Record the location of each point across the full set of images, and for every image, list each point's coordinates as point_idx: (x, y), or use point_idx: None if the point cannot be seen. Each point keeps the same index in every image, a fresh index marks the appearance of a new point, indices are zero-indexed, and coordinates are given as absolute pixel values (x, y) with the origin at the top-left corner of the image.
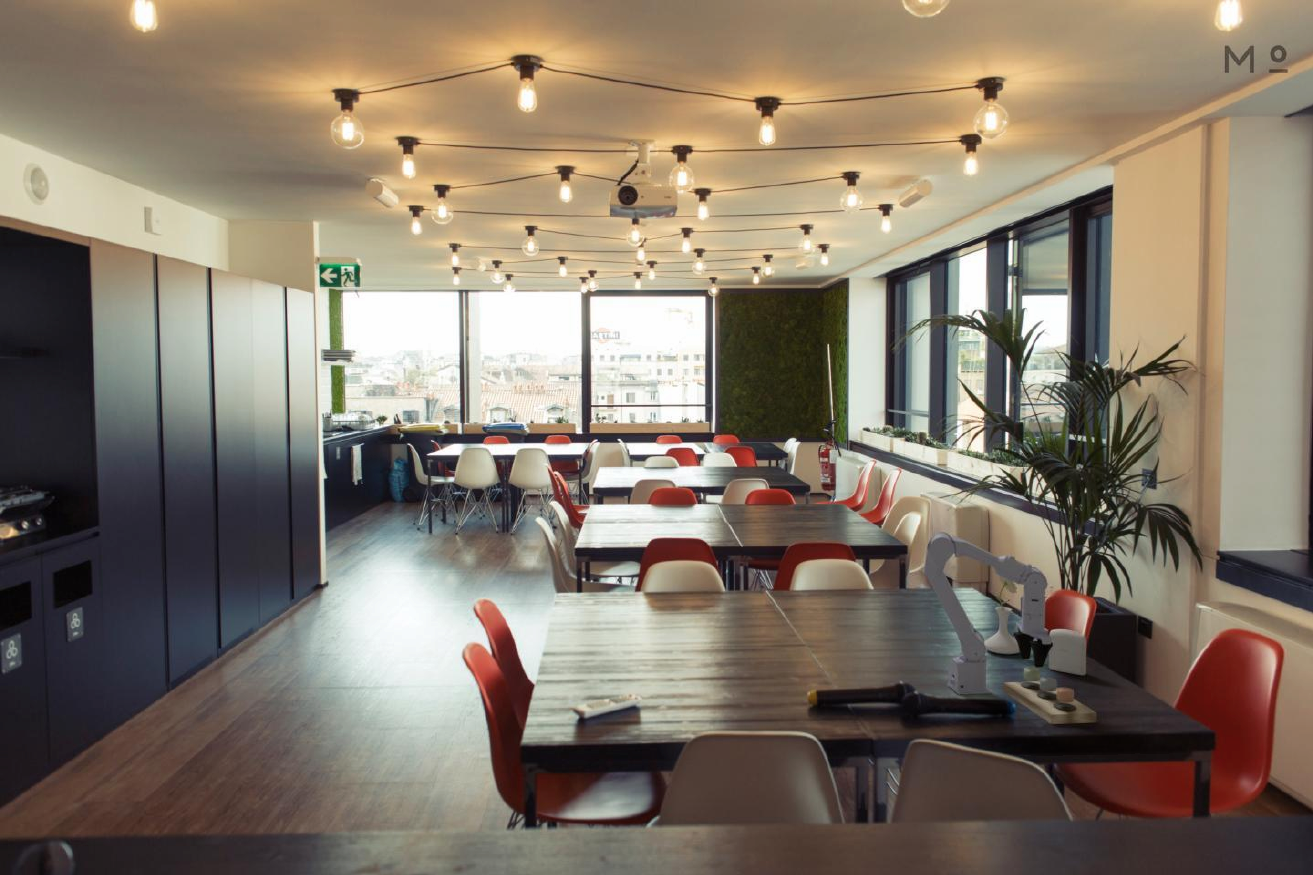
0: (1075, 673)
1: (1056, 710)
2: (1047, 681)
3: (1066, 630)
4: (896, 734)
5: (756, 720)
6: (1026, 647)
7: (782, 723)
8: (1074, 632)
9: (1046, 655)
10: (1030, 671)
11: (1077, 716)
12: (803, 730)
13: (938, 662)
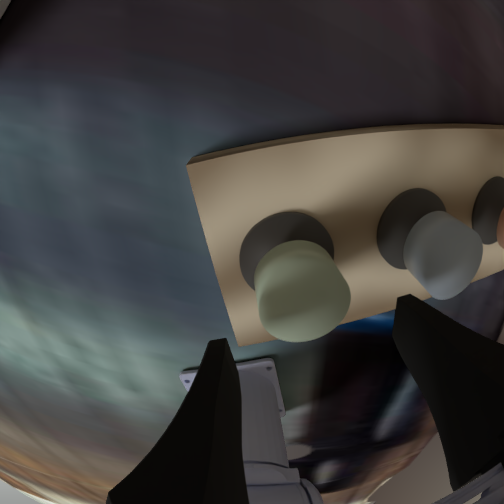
0: (5, 7)
1: (498, 244)
2: (471, 275)
3: None
4: (425, 440)
5: (350, 498)
6: (230, 428)
7: (362, 490)
8: None
9: (476, 336)
10: (334, 320)
11: None
12: (383, 480)
13: (37, 392)
